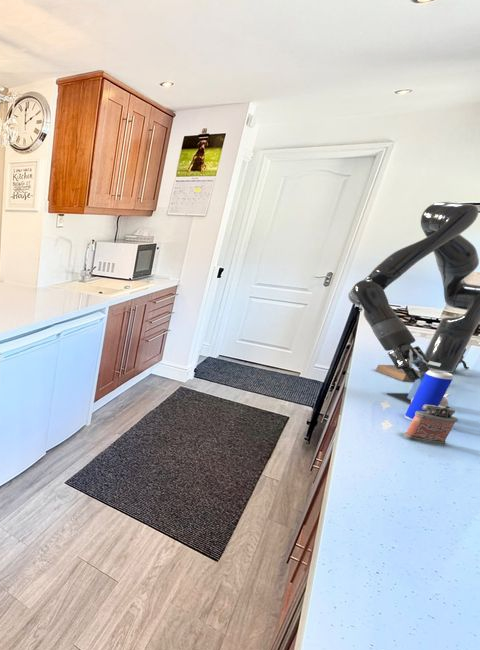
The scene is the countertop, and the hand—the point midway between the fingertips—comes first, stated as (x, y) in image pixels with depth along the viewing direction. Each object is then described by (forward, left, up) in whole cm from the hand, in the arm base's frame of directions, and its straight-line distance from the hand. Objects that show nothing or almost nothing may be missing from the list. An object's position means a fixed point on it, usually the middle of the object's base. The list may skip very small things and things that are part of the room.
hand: (422, 378), depth 128 cm
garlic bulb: (+8, +10, -8) cm, 15 cm away
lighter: (+26, +25, -8) cm, 36 cm away
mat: (0, +1, -8) cm, 8 cm away
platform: (-19, -20, -8) cm, 29 cm away
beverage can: (+15, +14, -8) cm, 21 cm away
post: (0, +1, -7) cm, 7 cm away
